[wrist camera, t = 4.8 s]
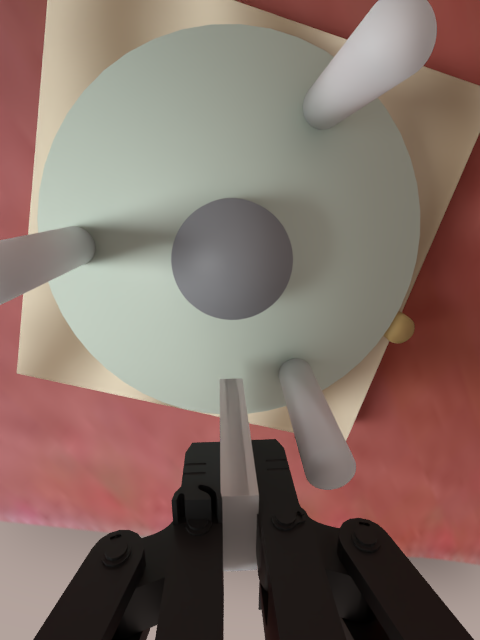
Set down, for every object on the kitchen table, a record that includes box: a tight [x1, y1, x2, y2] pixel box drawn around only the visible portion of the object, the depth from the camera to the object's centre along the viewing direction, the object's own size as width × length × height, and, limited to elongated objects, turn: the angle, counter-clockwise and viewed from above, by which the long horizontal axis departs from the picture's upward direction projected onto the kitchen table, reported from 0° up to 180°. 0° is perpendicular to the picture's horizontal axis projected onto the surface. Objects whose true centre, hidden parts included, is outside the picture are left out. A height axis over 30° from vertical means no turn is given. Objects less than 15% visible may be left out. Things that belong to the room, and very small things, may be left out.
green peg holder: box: [0, 0, 437, 490], centre depth 13 cm, size 16×16×8 cm
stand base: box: [17, 0, 480, 441], centre depth 17 cm, size 18×18×3 cm
